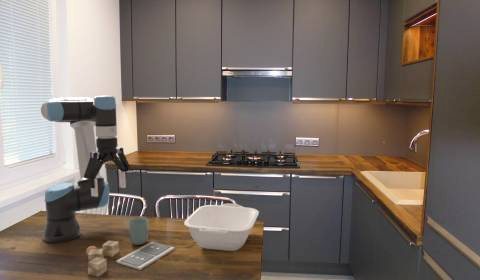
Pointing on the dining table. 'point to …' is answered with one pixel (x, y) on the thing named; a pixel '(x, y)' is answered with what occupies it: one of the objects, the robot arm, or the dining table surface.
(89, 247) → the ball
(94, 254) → the block
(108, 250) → the block
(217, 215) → the baking dish
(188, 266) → the dining table surface
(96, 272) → the block
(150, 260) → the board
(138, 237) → the cup
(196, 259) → the dining table surface
